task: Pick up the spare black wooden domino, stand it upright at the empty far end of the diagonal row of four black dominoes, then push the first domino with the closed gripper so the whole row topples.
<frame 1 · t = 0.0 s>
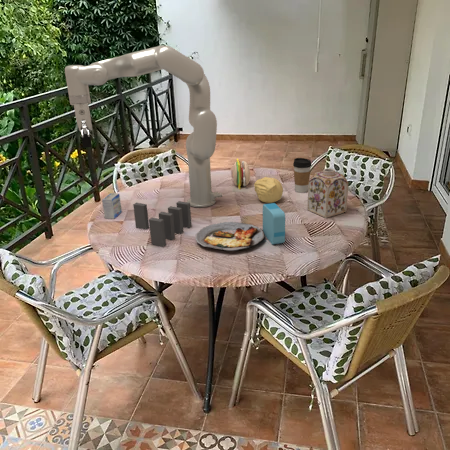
hand: (87, 144, 177), 31 cm above the table, tool pointing down, fingers open, 9 cm apart
medicine box: (113, 215, 192), on the table
domino 1: (184, 226, 178), on the table
domino 2: (176, 232, 174), on the table
domino 3: (168, 238, 169), on the table
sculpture: (269, 200, 202), on the table
light blue block: (273, 238, 166), on the table
coffee cup: (301, 191, 212), on the table
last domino: (142, 227, 178), on the table
hamburger: (241, 185, 223), on the table
domino 4: (158, 244, 164), on the table
decorative jar: (326, 211, 188), on the table
food plate: (230, 240, 166), on the table
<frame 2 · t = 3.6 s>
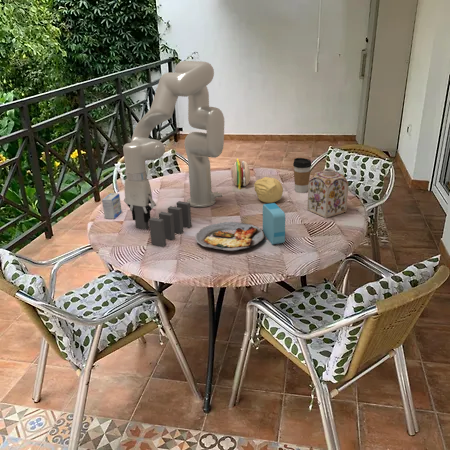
hand: (141, 219, 177), 3 cm above the table, tool pointing down, fingers closed on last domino, 4 cm apart
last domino: (142, 227, 178), on the table, touching gripper
everything else where it was.
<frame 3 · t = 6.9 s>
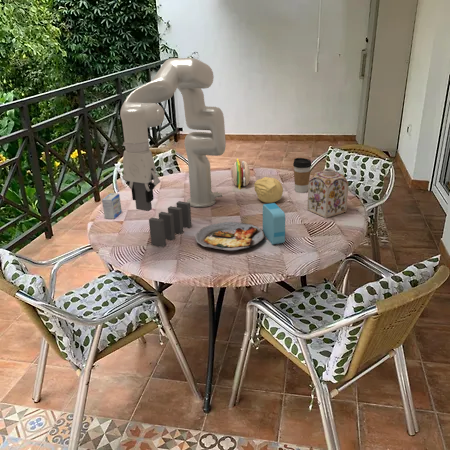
hand: (143, 199, 151), 20 cm above the table, tool pointing down, fingers closed on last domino, 4 cm apart
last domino: (144, 209, 153), point 16 cm above the table, touching gripper
everything else where it was.
when the fingers open (4 cm above the table, at t = 10.2 s): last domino stays where it is, on the table.
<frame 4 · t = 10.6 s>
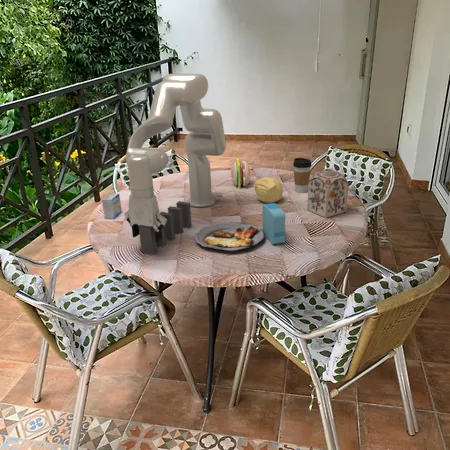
hand: (147, 238, 157), 5 cm above the table, tool pointing down, fingers open, 9 cm apart
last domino: (149, 251, 159), on the table
everything else where it was.
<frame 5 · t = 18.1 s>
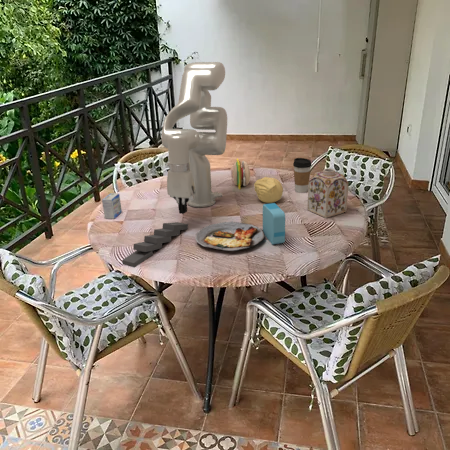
hand: (183, 212, 176), 6 cm above the table, tool pointing down, fingers closed
domino 1: (182, 225, 177), point 1 cm above the table, tilted 71°, touching domino 2
domino 2: (174, 231, 172), point 1 cm above the table, tilted 71°, touching domino 1, domino 3
domino 3: (165, 237, 167), point 1 cm above the table, tilted 70°, touching domino 2, domino 4
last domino: (146, 251, 158), point 1 cm above the table, tilted 90°
domino 4: (156, 244, 162), point 1 cm above the table, tilted 73°, touching domino 3
everything else where it was.
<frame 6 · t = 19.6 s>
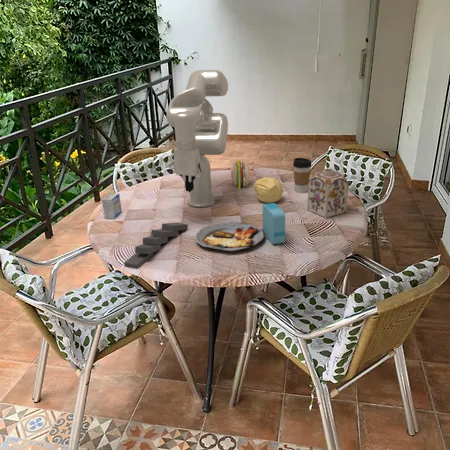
hand: (189, 190, 178), 13 cm above the table, tool pointing down, fingers closed
domino 3: (161, 238, 166), point 1 cm above the table, tilted 70°, touching domino 2, domino 4
domino 4: (154, 245, 161), point 1 cm above the table, tilted 73°, touching domino 3
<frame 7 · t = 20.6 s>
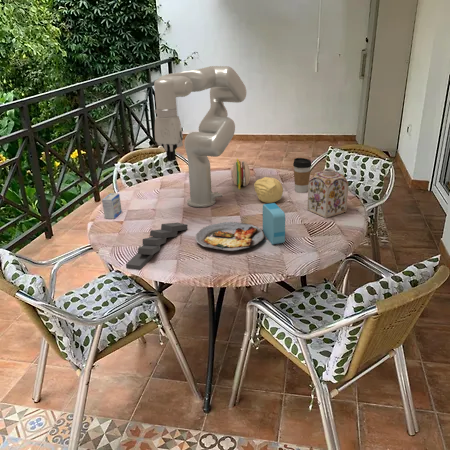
hand: (171, 160, 177), 24 cm above the table, tool pointing down, fingers closed
domino 1: (182, 226, 176), point 1 cm above the table, tilted 72°
domino 2: (171, 232, 171), point 1 cm above the table, tilted 71°, touching domino 3
domino 4: (153, 246, 160), point 1 cm above the table, tilted 73°, touching domino 3
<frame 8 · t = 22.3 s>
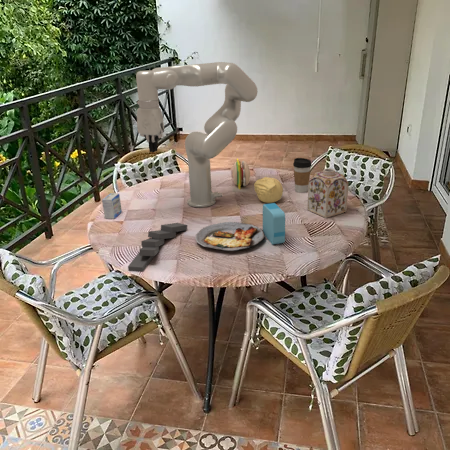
hand: (153, 151, 181), 27 cm above the table, tool pointing down, fingers closed
domino 1: (182, 226, 176), point 1 cm above the table, tilted 74°, touching domino 2
domino 2: (170, 233, 170), point 1 cm above the table, tilted 72°, touching domino 1
domino 3: (157, 240, 165), point 1 cm above the table, tilted 71°, touching domino 4
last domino: (146, 255, 155), point 1 cm above the table, tilted 90°, touching domino 4
domino 4: (151, 248, 159), point 1 cm above the table, tilted 71°, touching domino 3, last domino
everything else where it was.
at the end: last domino tilted 90°; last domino inside the target area (2.4 cm from its centre), point 0.5 cm above the table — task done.
